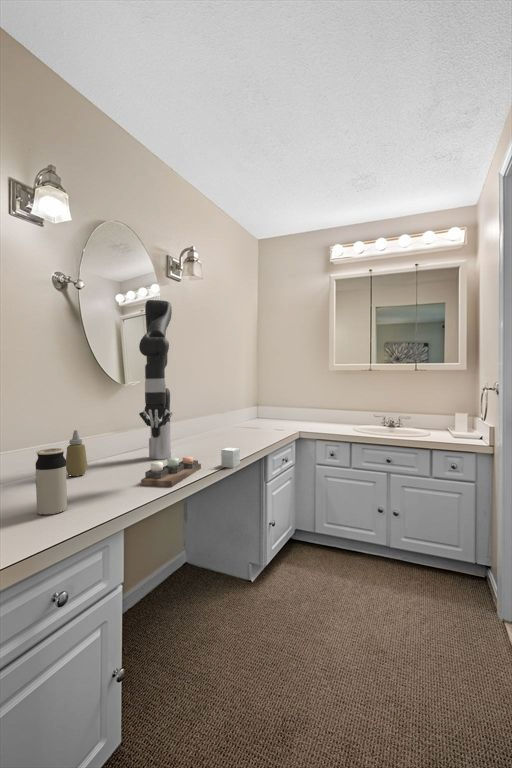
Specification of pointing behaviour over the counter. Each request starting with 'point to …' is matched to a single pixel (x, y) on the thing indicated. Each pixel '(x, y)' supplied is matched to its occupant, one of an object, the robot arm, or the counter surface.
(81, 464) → the squeeze bottle
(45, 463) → the travel mug
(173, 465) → the sage button
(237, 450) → the product box
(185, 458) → the terracotta button
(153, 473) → the button panel
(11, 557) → the counter surface
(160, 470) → the cream button
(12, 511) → the counter surface
